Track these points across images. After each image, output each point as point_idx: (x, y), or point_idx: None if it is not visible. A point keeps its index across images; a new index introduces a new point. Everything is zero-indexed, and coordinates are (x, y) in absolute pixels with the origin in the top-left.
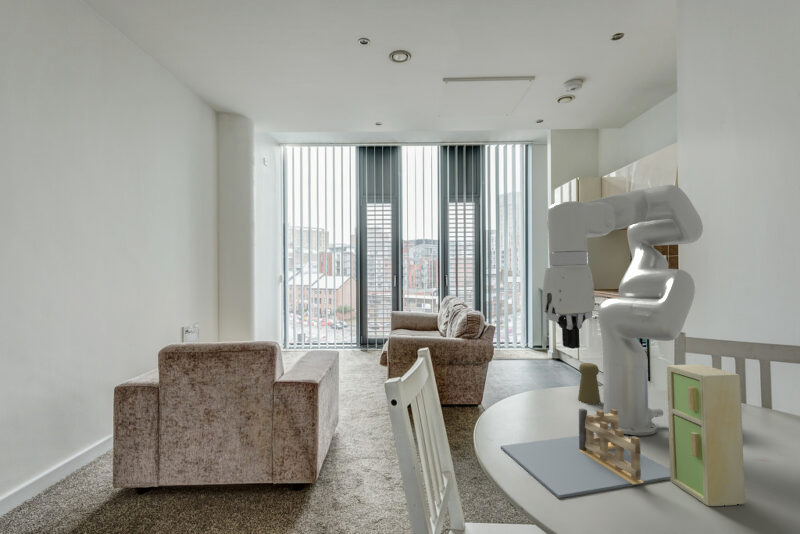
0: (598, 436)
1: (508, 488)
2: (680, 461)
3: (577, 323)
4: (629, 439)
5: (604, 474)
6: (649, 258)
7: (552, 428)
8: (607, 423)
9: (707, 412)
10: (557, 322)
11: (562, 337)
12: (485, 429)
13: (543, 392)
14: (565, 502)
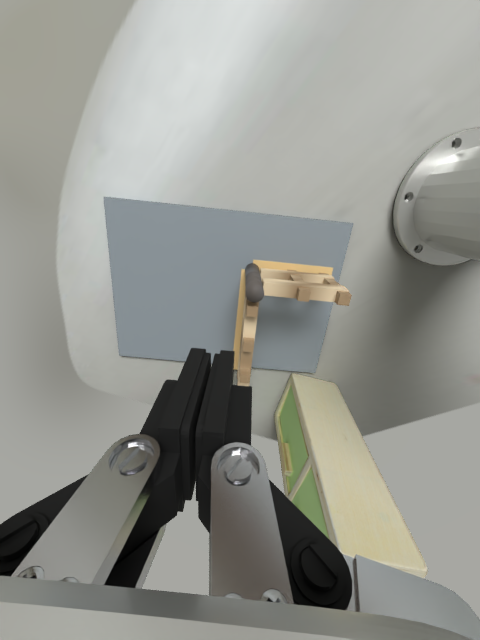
0: (289, 278)
1: (65, 315)
2: (292, 408)
3: (209, 559)
4: None
5: (216, 340)
6: None
7: (283, 144)
8: (252, 351)
9: None
10: (43, 508)
11: (157, 397)
12: (111, 77)
13: None
14: (124, 361)
